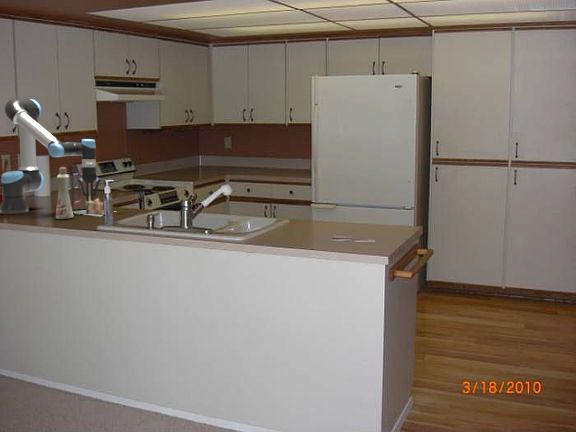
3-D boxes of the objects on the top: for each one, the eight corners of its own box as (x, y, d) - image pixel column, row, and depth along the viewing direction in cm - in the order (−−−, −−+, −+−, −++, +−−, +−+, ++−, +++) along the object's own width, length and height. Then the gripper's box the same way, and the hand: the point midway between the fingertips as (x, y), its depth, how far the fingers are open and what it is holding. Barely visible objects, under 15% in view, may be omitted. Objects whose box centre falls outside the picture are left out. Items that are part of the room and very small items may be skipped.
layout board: (100, 216, 380) (100, 216, 380) (67, 213, 395) (67, 212, 395) (124, 213, 394) (124, 212, 393) (91, 209, 409) (91, 208, 409)
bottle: (73, 219, 372) (70, 167, 368) (55, 220, 369) (52, 167, 365) (73, 217, 380) (71, 165, 376) (56, 217, 377) (53, 166, 373)
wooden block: (74, 210, 409) (72, 179, 406) (75, 209, 413) (74, 178, 410) (90, 209, 410) (88, 179, 407) (91, 208, 414) (89, 178, 412)
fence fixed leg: (104, 215, 383) (104, 202, 382) (102, 216, 381) (101, 202, 380) (87, 214, 391) (87, 200, 390) (85, 214, 389) (84, 201, 388)
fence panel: (89, 212, 390) (89, 200, 389) (87, 212, 391) (86, 200, 390) (100, 209, 402) (99, 198, 401) (98, 209, 402) (97, 198, 401)
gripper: (77, 167, 388) (78, 208, 391) (101, 167, 392) (101, 208, 395) (77, 166, 395) (77, 207, 398) (100, 166, 399) (100, 206, 402)
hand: (89, 207), depth 397 cm, fingers closed
